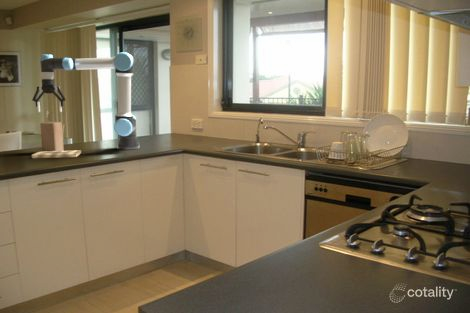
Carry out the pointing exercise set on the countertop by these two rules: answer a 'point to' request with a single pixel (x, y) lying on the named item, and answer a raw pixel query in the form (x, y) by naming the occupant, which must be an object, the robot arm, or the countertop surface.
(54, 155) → the board
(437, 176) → the countertop surface
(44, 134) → the block
